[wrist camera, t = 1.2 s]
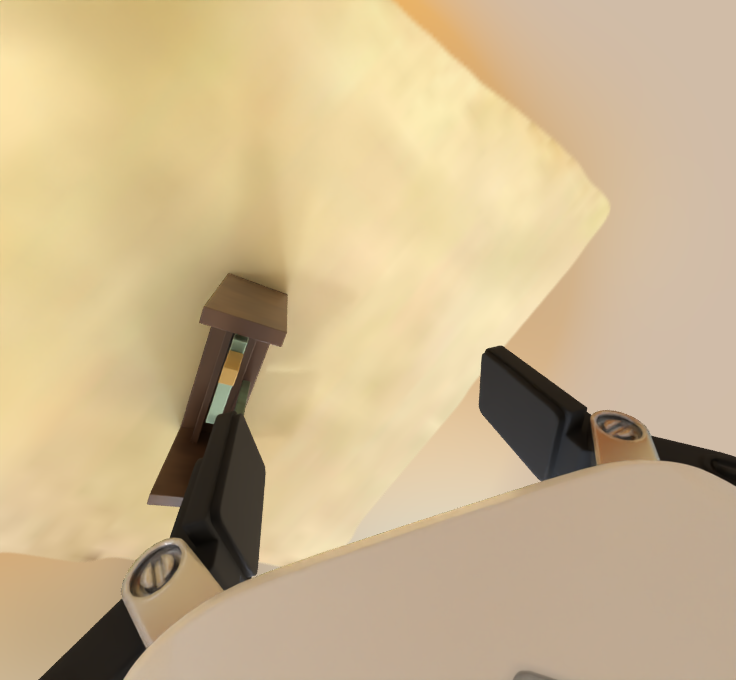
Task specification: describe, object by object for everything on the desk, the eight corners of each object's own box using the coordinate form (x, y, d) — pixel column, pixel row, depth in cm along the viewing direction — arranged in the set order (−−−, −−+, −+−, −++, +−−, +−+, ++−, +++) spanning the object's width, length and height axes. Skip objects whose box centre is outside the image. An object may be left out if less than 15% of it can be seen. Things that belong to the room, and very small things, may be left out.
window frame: (180, 430, 42) (146, 505, 32) (228, 272, 35) (203, 306, 25) (232, 438, 45) (216, 510, 35) (287, 294, 37) (287, 333, 27)
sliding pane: (224, 369, 38) (196, 445, 27) (247, 302, 35) (227, 355, 24) (234, 372, 39) (211, 447, 27) (257, 305, 36) (242, 359, 24)
